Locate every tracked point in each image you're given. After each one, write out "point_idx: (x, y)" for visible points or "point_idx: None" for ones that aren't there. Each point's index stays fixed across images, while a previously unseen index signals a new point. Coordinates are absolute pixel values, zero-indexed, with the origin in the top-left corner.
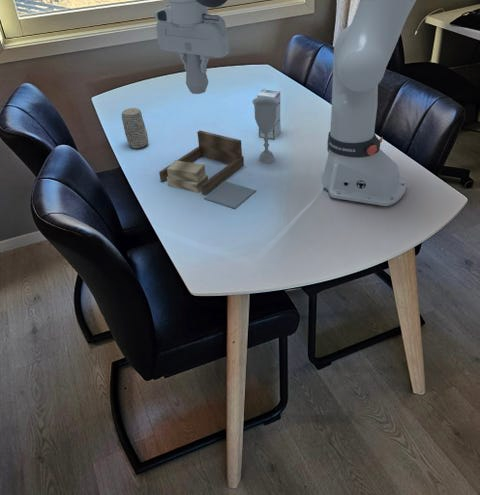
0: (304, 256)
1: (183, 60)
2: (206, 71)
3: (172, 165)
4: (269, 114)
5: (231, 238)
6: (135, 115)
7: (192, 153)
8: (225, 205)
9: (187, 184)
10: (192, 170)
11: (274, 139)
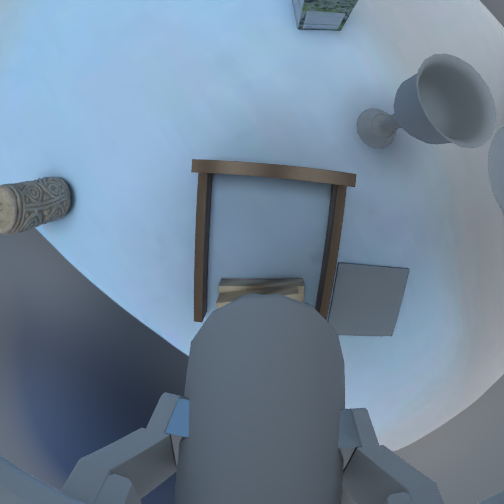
0: (484, 369)
1: (148, 487)
2: (362, 408)
3: None
4: (464, 135)
5: (405, 389)
6: (17, 219)
7: (205, 207)
8: (372, 335)
9: None
10: None
11: (340, 29)
